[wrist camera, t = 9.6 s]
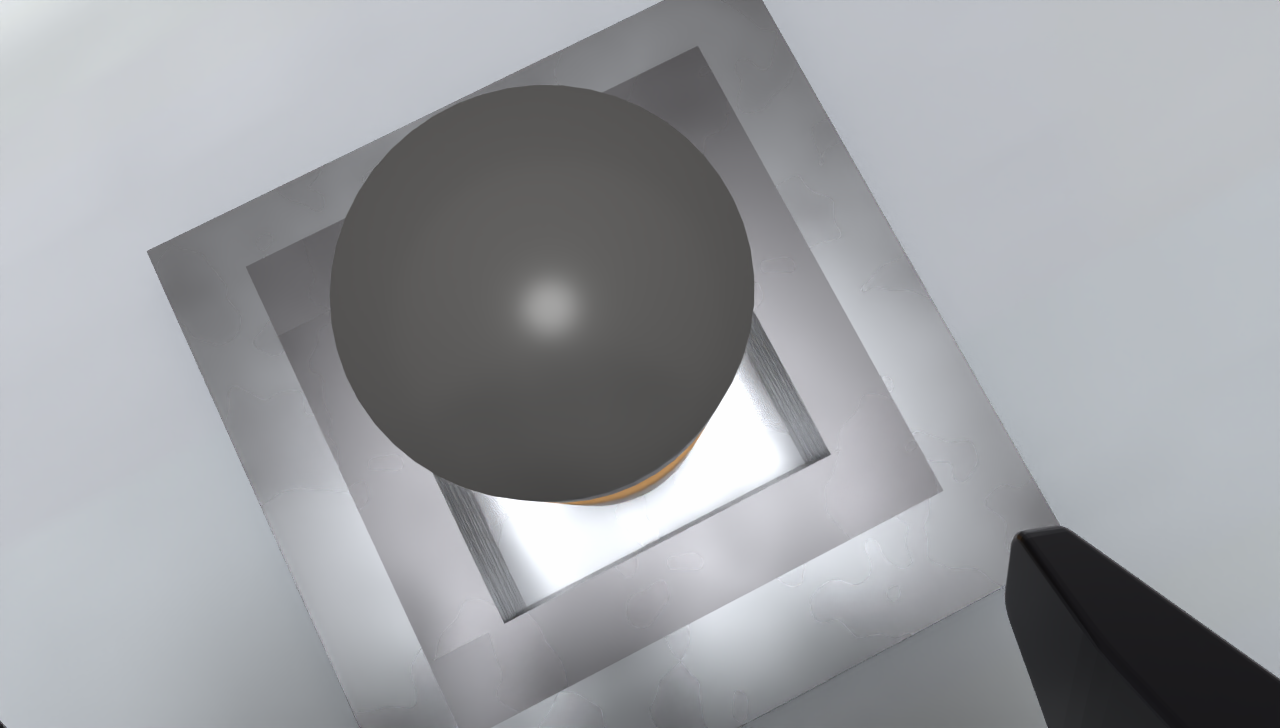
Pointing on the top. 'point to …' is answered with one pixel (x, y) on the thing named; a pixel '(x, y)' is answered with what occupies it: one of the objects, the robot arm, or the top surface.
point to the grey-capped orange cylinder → (543, 295)
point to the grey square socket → (682, 505)
